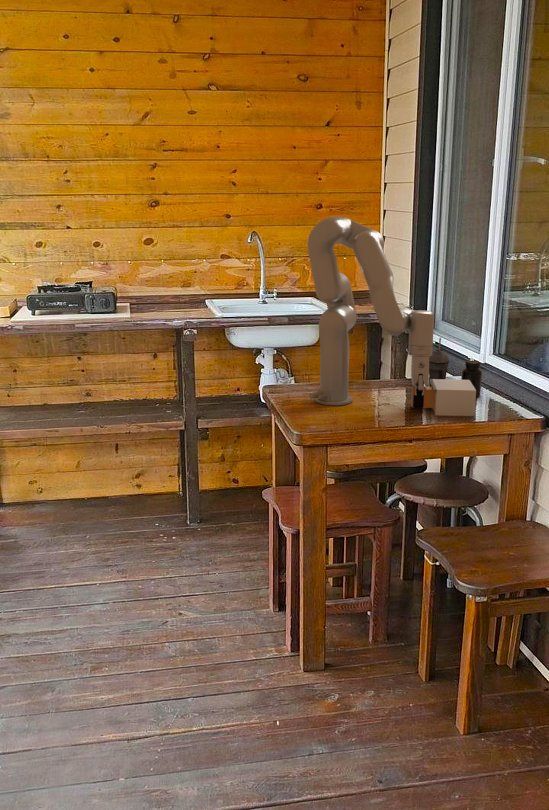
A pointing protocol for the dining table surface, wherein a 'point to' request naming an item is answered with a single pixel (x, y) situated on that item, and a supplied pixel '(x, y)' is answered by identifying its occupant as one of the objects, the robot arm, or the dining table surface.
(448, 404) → the beige rectangular block
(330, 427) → the dining table surface
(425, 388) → the orange rectangular block
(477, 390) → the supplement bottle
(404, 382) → the dining table surface
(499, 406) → the dining table surface
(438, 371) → the beverage cup
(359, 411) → the dining table surface
